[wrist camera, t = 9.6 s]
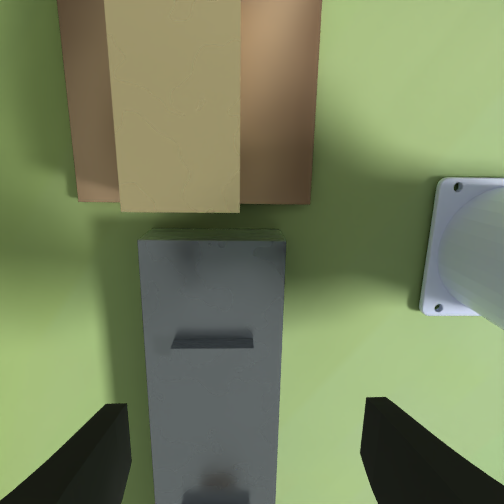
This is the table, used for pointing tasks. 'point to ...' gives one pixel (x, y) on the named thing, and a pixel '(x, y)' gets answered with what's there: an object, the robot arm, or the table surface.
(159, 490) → the body
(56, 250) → the table surface
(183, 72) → the tan rectangular block
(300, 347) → the table surface
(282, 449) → the table surface
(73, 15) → the walnut board
